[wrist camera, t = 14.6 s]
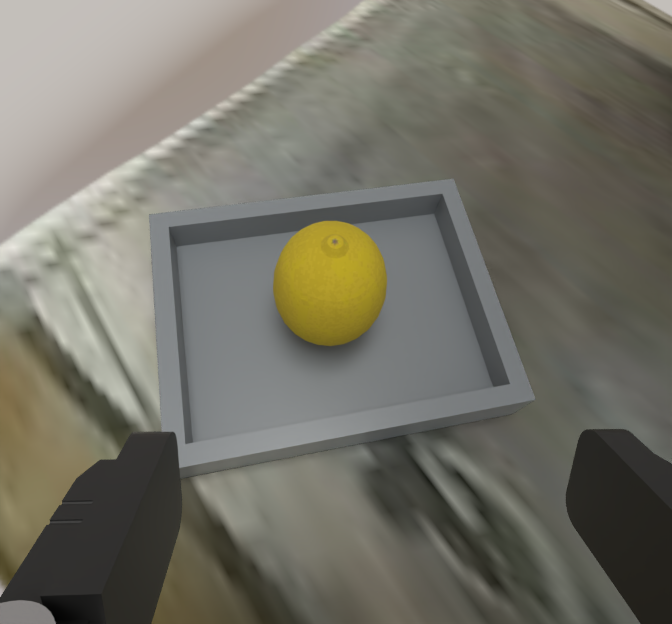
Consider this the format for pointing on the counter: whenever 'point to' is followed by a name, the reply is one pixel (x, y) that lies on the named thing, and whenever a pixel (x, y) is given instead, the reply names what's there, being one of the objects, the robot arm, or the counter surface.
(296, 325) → the lemon
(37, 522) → the counter surface
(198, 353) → the tray
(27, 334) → the counter surface
